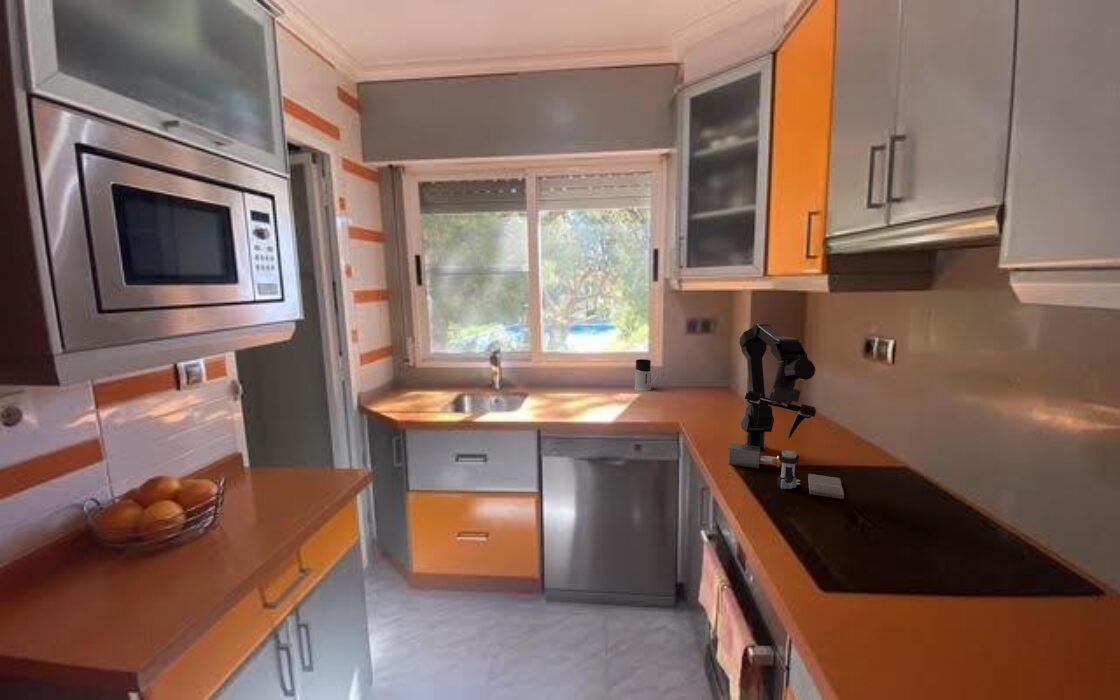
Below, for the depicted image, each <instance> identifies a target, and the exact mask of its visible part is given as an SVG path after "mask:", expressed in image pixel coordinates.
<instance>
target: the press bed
mask: <svg viewBox="0 0 1120 700" xmlns="http://www.w3.org/2000/svg"><path fill="white" fill-rule="evenodd" d="M807 476H808V477H807V480H808V489H809V495H815V496H819V497H820V496H822V497H826V498H827V497H828V498H834V499H839V500H844V499H845V494H844V490H843V486H842V481H841V477H835V476H834V477H833V476H828V475H820V474H814V473H808V475H807Z"/></svg>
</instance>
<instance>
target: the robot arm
mask: <svg viewBox="0 0 1120 700" xmlns="http://www.w3.org/2000/svg"><path fill="white" fill-rule="evenodd" d="M738 342H739V345H740V347H741V348H740V349H741V350H740V351H741V353H742V354H743V356H744V357H745V359H746V360H747V373H748V374H747V375H748V376H747V377H748V388H749V389H748V390H747V391H746V393H745V397H744V401H745V402H747V403H748V406H747V407H746V408H745V415H744V417H743V419H742V420H741V423H740V427H741V429H742V430H743V431H744V433H746V442H745V444H744V445H750V446H758V447H760V452H764V453H765V452H766V449H767V444H765V443H766V442H765V441H766V433H772V430H773V426H774V422H775V418H774V415H773V407H777V408H779V409H783V410H788V411H792V412H796V413H797V415H795V419H794V421H793V424H792V426H791V429H790V431H789V433H788V437H787V439H791V438H792V436H793V435H794V433H795V431H796V430H797V429H798V427H799V425H800V424H801V423H802V422H803V421H808V420H809V419H811V420H813V419H814V418H816V417H815V416H816V413H817V409H816V407H815V406H812V405H808V404H803V403H801V404H800V406H799V405H797V404H796V405H795V404H793V402H795V403H798V402H799V400H800V396H801V391H802V390H800V389H797V388H796V386H797V381H806V380H810V379H812V378H813V377H814V376H815V374H816V366H815V365H814V363H813V362H812V361H811V360H809V357H808V353H807V351H805V349H804V347H803V344H802V343H801V341H800V340H799V339H798V338H795V337H792V336H791V337H790V336H785V335H784V334H782V333H781V332H779V331H778V330H777V329H775V328H773V327H772V325H771V324H769V323H756V324H754V325H753V326H752V327H751V328H749V329H747V330H745V331H743V333H742V334H741V336H740V337H739V341H738ZM767 346H769V347H770V353H771V354H772V355H773V357H774V358H775V359H776V360H777V362H778V363H776V365H777V370H776V374H775V378H774V381H773V385H772V389H771V392H770V395H769V396H770V397H766V391H765V390H766V389H765V378H764V366H763V357H764V356H765V354H766V352H767V348H768V347H767ZM772 406H773V407H772Z"/></svg>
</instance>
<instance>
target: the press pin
mask: <svg viewBox="0 0 1120 700" xmlns="http://www.w3.org/2000/svg"><path fill="white" fill-rule="evenodd" d="M776 456H777V457H776ZM776 456H769V455H762V454H760V455H759V463H763V464H768V465H769V464H771V465H775V466H776V467H778V468H780V465H781V464H780V462H781V461H780V460H779V456H778V455H776Z"/></svg>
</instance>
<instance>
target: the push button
mask: <svg viewBox="0 0 1120 700" xmlns="http://www.w3.org/2000/svg"><path fill="white" fill-rule="evenodd" d="M778 456H779V460H780V462H781V473H780V476H777V477H776V486H777V487H779V489H781V490H786V489H789V490H791V489H793V488H797V485H801V483H799V482H801V480H800V479H798V478H797V477H796V475H795V469H796V464H798V463H799V460H800V455H798V454H797V452H796V451H794V450H789V449H784V450H782V451H781V452H779V453H778Z"/></svg>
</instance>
